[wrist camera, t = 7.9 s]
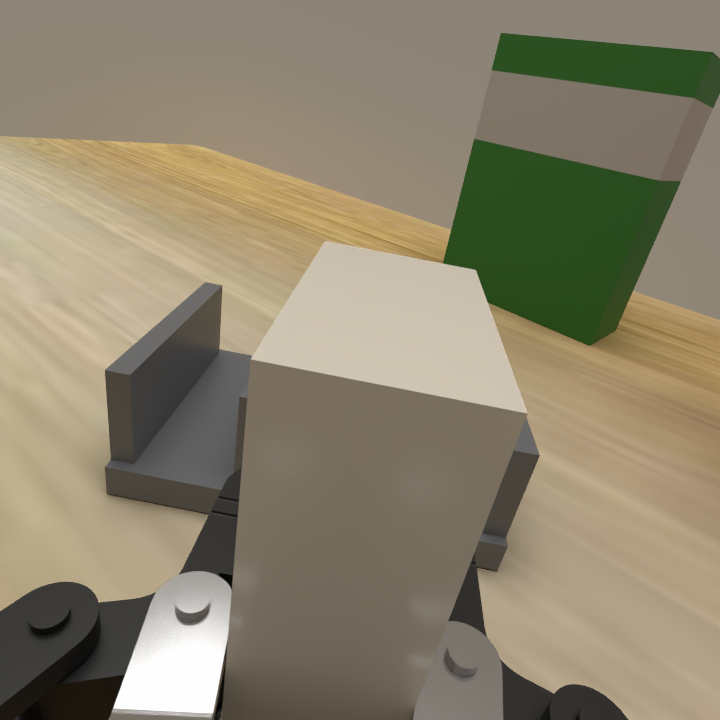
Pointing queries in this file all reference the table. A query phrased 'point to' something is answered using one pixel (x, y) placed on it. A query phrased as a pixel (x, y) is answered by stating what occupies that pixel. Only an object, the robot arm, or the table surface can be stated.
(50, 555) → the table surface
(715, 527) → the table surface
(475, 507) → the beige rectangular block
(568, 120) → the hardback book
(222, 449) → the drying rack
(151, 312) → the table surface
